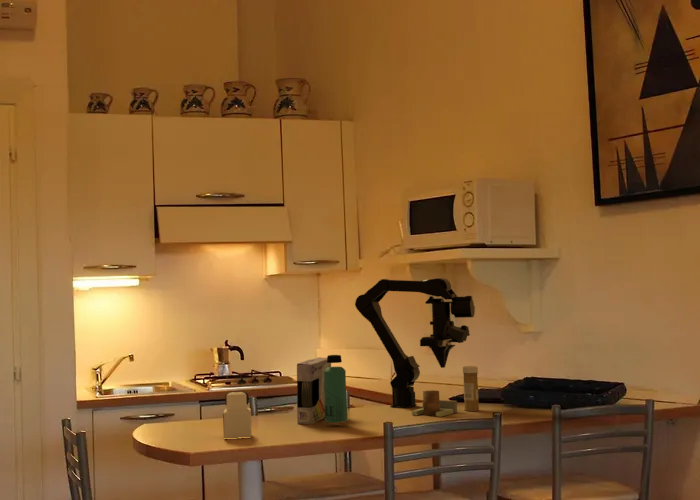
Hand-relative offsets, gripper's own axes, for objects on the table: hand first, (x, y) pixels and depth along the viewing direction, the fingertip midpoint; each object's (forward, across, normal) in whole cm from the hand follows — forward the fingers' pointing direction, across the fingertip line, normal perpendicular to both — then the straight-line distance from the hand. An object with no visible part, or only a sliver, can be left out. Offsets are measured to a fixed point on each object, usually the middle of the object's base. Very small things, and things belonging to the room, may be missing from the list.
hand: (442, 367), depth 303 cm
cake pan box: (+13, -38, +23) cm, 46 cm away
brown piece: (+12, -16, -4) cm, 21 cm away
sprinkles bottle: (+13, -3, -11) cm, 17 cm away
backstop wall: (+12, -10, -4) cm, 16 cm away
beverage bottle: (+13, -46, +10) cm, 49 cm away
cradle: (+12, -15, -4) cm, 20 cm away
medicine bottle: (+13, -72, +24) cm, 77 cm away
